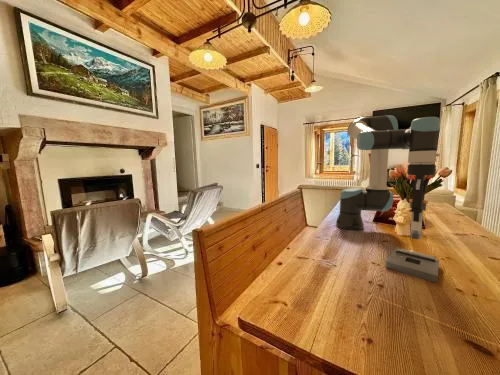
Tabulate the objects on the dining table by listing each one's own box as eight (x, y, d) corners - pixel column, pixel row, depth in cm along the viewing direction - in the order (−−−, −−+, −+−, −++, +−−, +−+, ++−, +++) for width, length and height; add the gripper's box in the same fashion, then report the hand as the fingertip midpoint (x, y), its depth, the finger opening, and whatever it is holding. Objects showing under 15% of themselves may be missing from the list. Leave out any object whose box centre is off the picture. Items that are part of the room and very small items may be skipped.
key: (405, 237, 73) (408, 199, 72) (407, 234, 76) (410, 198, 75) (423, 241, 70) (427, 201, 68) (424, 237, 73) (428, 199, 71)
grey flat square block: (385, 267, 75) (386, 257, 74) (393, 255, 84) (394, 245, 84) (436, 283, 65) (438, 271, 64) (438, 266, 75) (439, 256, 74)
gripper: (434, 163, 62) (428, 237, 64) (437, 163, 73) (431, 226, 76) (404, 164, 67) (399, 231, 70) (411, 163, 78) (406, 222, 81)
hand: (416, 228), depth 73 cm, fingers closed on key, 3 cm apart
